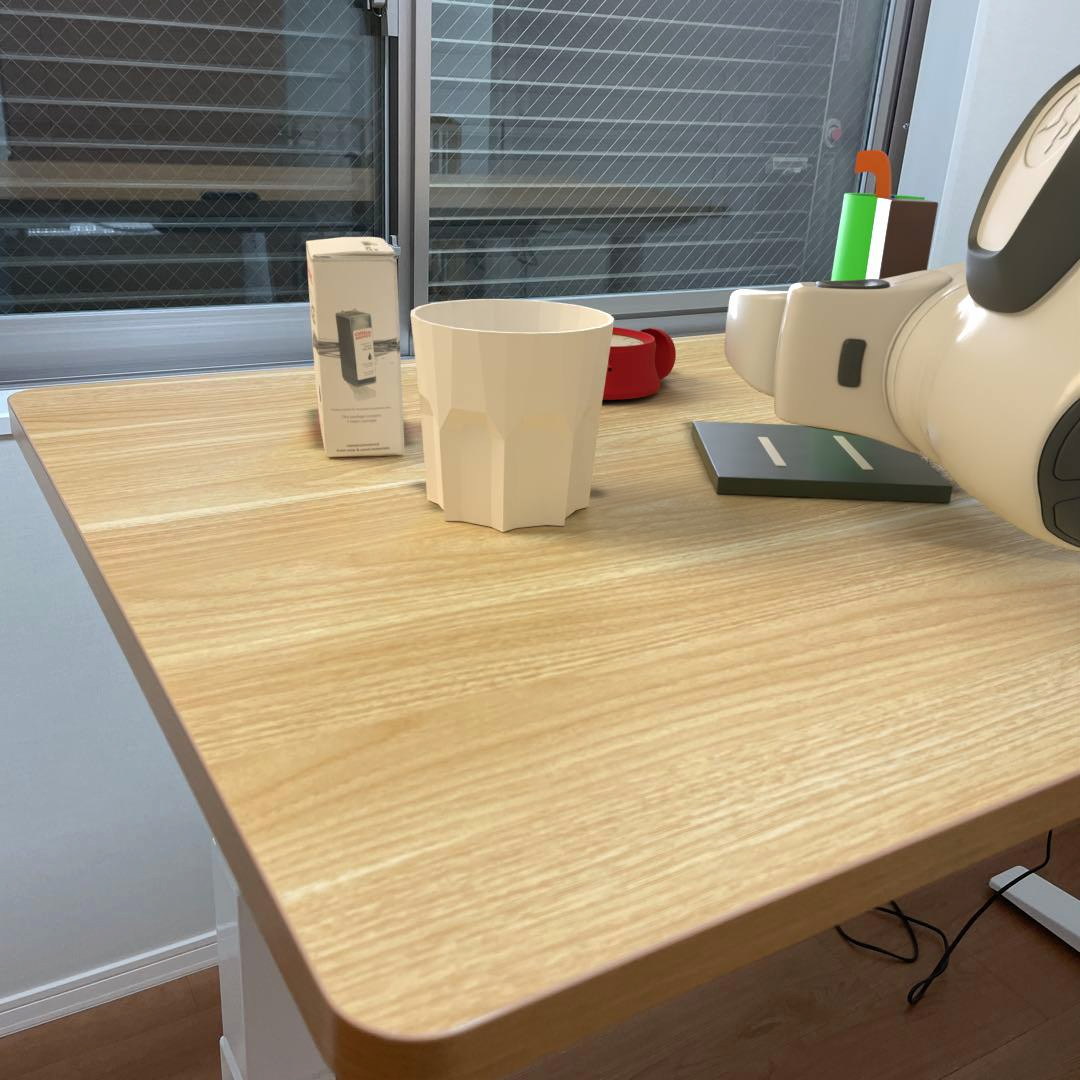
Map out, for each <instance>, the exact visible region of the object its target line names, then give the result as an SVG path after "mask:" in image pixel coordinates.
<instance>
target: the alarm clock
mask: <svg viewBox="0 0 1080 1080" xmlns="http://www.w3.org/2000/svg"><path fill="white" fill-rule="evenodd" d="M676 353H677V350H676V346H675V343H674V340H673V338H672V337H671V336H670V335H669V333H667V332H666V331H664V330H663V329H660V328H655V327H648V328H643V329H640V330H635V329H630V328H625V327H615V326H613V331H612V338H611V345H610V352H609V359H608V365H607V372H606V379H605V386H604V393H603V399H602V401H603V400H609V401H613V400H628V399H629V400H630V399H638V398H644V397H648V396H652V395H655V394H656V393H658V392H659V391H660V390H661V386H662V383H661V380H663V379H664V378H667V377H668V376H670V374H671V372H672V371H673V368H674V366H675V363H676V359H677V358H676V357H677V354H676Z"/></svg>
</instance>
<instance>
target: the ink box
mask: <svg viewBox="0 0 1080 1080" xmlns="http://www.w3.org/2000/svg"><path fill="white" fill-rule="evenodd" d="M305 251H306V265H307V281H308V283H307V284H308V295H309V297H308V298H309V311H310V326H311V342H312V343H311V344H312V354H313V367H314V378H315V379H314V380H315V390H316V402H317V413H318V422H319V427H320V432H321V438H322V443H323V449H324V454H325V457H327V458H350V457H383V456H384V457H385V456H404V455H405V430H404V428H405V427H404V407H403V404H404V403H403V387H402V386H403V385H402V384H403V383H402V382H403V380H402V361H401V360H402V359H401V340H400V339H401V338H400V337H401V336H400V311H399V310H400V307H399V286H398V261H397V257H396V251H395V250H394V248H393V247H392V246H391V245H390V244H389V243H388V242H387V241H386V240H385V239H384V238H382V237H377V236H376V237H375V236H341V237H331V238H322V239H313V240H306V241H305Z"/></svg>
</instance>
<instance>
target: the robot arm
mask: <svg viewBox="0 0 1080 1080" xmlns="http://www.w3.org/2000/svg"><path fill="white" fill-rule="evenodd" d="M970 223H971V224H970V226H969V230H968V235H967V236H968V237H967V243H966V244H967V246H966V257H965V262H956V263H952V264H947V265H944V266H940V267H938V268H936V269H927V270H923V271H917V272H912V273H908V274H904V275H899V276H894V277H889V278H884V279H864V280H846V281H831V280H817V281H816V282H815V281H799V282H795V283H793V284H792V285H790V286H789V289H788V290H774V289H773V290H770V289H760V288H759V289H757V288H740V289H737V290H734V291H733V292H732V293H731V295H730V297H729V300H728V307H727V314H726V319H725V320H726V321H725V331H724V332H725V333H724V356H725V359H726V361H727V363H728V364H729V365H730V366H731V368H732V369H733V370H734V372H735V373H736V374H737V375H738V376H739V377H740V379H742V380H743V381H744V382H745V383H746V384H747V385H748V386H749V387H750V388H752V389H754V390H756V391H757V392H759V393H761V394H763V395H766V396H769V397H771V398H773V412H774V414H775V416H776V417H777V418H778V419H779V420H781V421H783V422H785V423H787V424H790V425H804V426H807V427H811V428H818V429H824V430H831V431H836V432H842V433H847V434H852V435H858V436H865V437H868V438H872V439H875V440H878V441H881V442H884V443H887V444H890V445H892V446H895V447H898V448H900V449H903V450H906V451H909V452H912V453H916V454H920V453H921V454H922V455H924V456H925V457H926V458H927V459H929V460H930V461H932V462H933V463H934V464H936V465H938V466H940V467H942V468H943V469H944V471H945V472H946V473H947V474H948V476H950V478H951V479H952V480H953V481H954V482H955V483H956V484H957V485H958V486H959V487H960V488H961V489H963V490H964V491H965V492H967V494H969V495H970V496H971V497H973V498H974V499H975V500H976V501H978V502H979V503H980V504H981V505H983V506H984V507H986V509H988V510H989V511H991V512H993V513H994V514H996V515H997V516H998V517H1000V518H1001V519H1003V520H1004V521H1006V522H1007V523H1009V524H1010V525H1012V526H1013V527H1015V528H1017V529H1018V530H1020V531H1022V532H1025V533H1026V534H1028V535H1030V536H1032V537H1035V538H1036V539H1039V540H1040V541H1043V542H1045V543H1048V544H1050V545H1054V546H1056V547H1060V548H1063V549H1067V550H1070V551H1076V552H1080V63H1079V64H1078V65H1076V66H1075V67H1074V68H1072V69H1071V70H1070V71H1068V72H1067V73H1066V74H1064V76H1062V77H1061V78H1060V79H1058V81H1056V83H1054V84H1053V85H1052V86H1051V87H1050V88H1049V89H1048V90H1046V92H1045V93H1044V94H1043V95H1042V96H1041V97H1040V99H1038V101H1037V102H1036V103H1035V104H1034V105H1033V107H1032V108H1031V109H1030V110H1029V112H1028V113H1027V114H1026V116H1025V118H1024V119H1023V120H1022V121H1021V123H1020V124H1019V126H1018V128H1017V129H1016V131H1015V132H1014V133H1013V135H1012V137H1011V138H1010V140H1009V142H1008V143H1007V145H1006V147H1005V148H1004V150H1003V152H1002V153H1001V155H1000V156H999V159H998V160H997V162H996V164H995V166H994V168H993V170H992V172H991V174H990V176H989V177H988V180H987V183H986V185H985V187H984V189H983V191H982V194H981V196H980V199H979V201H978V204H977V207H976V209H975V212H974V214H973V218H972V220H971V222H970Z"/></svg>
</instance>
